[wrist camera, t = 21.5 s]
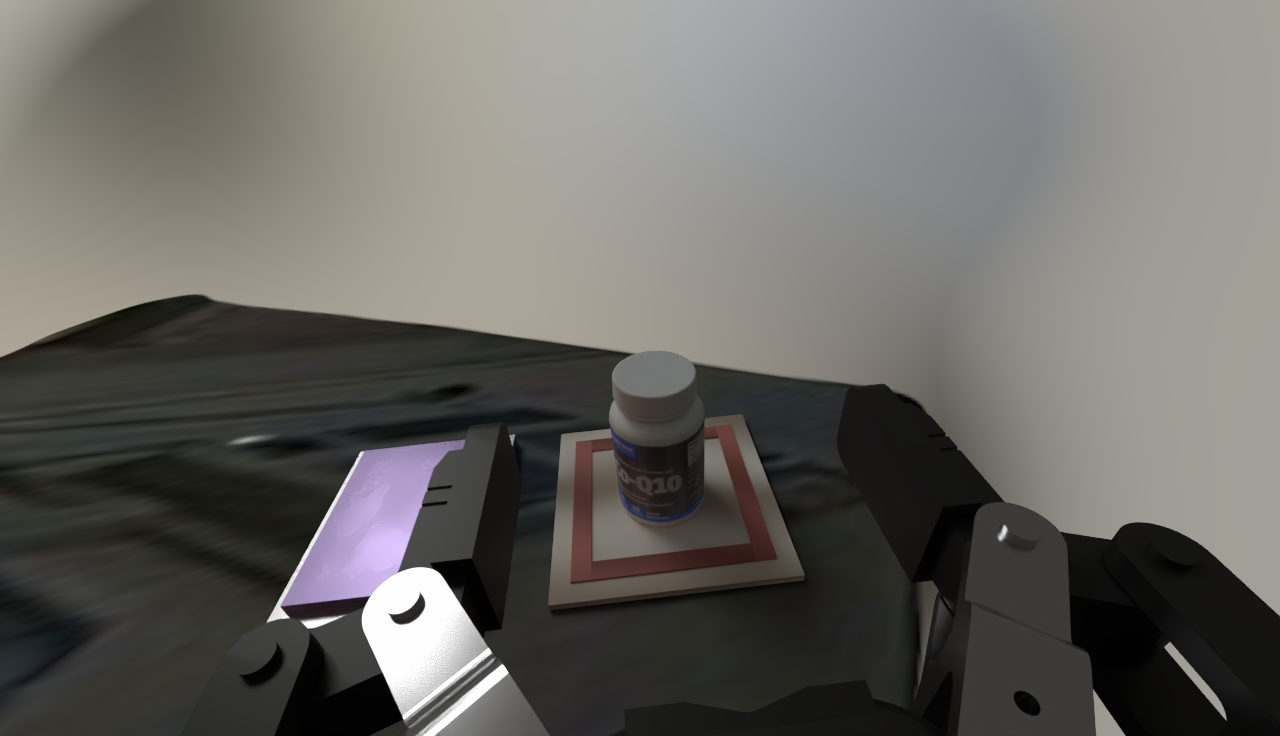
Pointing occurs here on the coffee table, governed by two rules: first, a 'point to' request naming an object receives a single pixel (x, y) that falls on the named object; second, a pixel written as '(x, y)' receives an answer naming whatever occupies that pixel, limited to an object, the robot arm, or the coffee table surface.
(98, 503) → the coffee table surface
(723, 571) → the marked board
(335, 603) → the ink pad
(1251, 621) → the robot arm
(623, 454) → the pill bottle
